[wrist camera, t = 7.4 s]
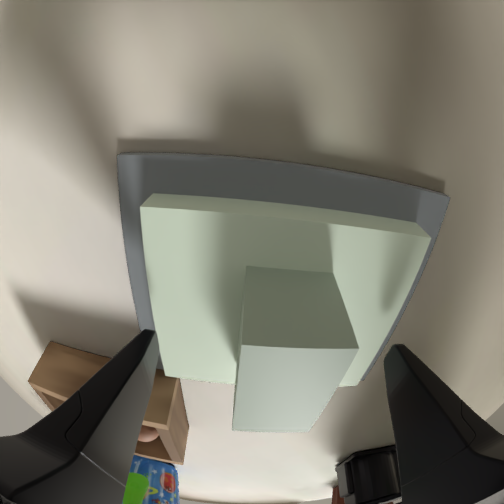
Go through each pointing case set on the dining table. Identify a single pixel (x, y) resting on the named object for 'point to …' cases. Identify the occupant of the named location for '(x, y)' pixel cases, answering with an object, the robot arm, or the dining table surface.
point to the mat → (262, 189)
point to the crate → (157, 413)
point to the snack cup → (151, 483)
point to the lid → (274, 298)
